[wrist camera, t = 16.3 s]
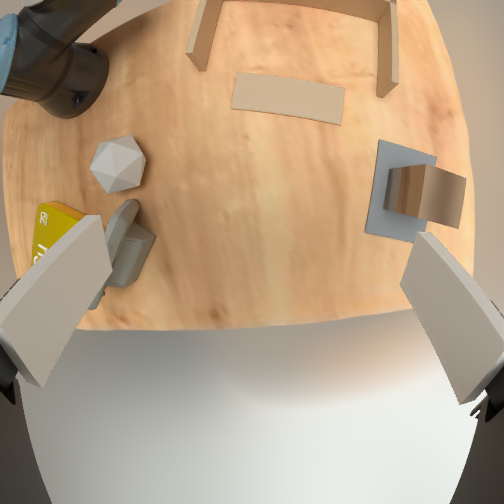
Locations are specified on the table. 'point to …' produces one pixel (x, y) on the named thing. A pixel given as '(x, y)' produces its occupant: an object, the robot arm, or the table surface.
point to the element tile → (52, 226)
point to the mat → (378, 217)
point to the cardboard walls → (295, 90)
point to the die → (118, 164)
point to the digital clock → (125, 248)
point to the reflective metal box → (426, 194)
